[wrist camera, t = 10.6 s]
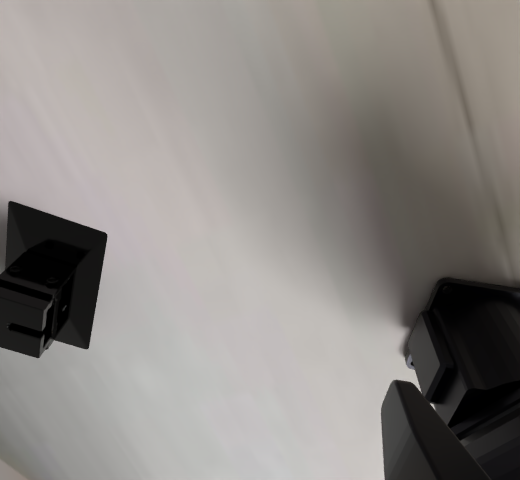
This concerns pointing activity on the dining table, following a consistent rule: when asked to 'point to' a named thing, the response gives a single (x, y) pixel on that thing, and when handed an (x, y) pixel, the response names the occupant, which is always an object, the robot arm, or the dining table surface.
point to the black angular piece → (48, 281)
